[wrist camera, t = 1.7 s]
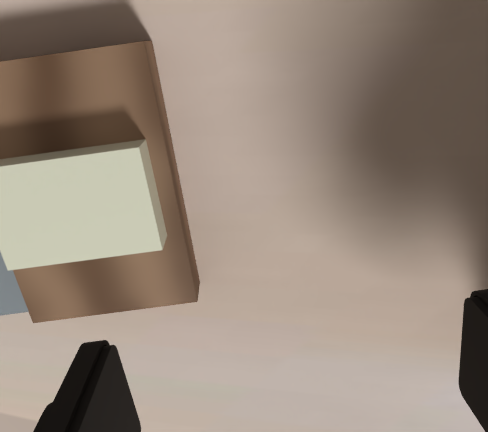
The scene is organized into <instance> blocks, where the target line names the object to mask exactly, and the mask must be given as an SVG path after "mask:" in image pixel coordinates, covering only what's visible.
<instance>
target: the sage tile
mask: <svg viewBox="0 0 488 432" xmlns="http://www.w3.org/2000/svg"><path fill="white" fill-rule="evenodd" d="M166 237H167V232H166V228H165V223H164V219H163V214H162V210H161V205H160V201H159V196H158V192H157V187H156V183H155V178H154V174H153V169H152V165H151V160H150V156H149V151H148V146H147V142H146V139H143V140H136V141H129V142H121V143H114V144H107V145H100V146H92V147H85V148H78V149H71V150H64V151H56V152H49V153H42V154H35V155H27V156H20V157H13V158H6V159H0V252H1V254H2V257H3V260H4V262H5V265H6V267H7V270H8V271H9V270H17V269H24V268H32V267H39V266H47V265H54V264H62V263H69V262H77V261H84V260H92V259H99V258H107V257H114V256H122V255H130V254H137V253H145V252H152V251H160V250H163V247H164V244H165V241H166Z"/></svg>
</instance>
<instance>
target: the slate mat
mask: <svg viewBox="0 0 488 432" xmlns="http://www.w3.org/2000/svg"><path fill="white" fill-rule="evenodd" d="M22 312H29V311H28V308H27V306H26V303H25V301H24V298H23V296H22V293H21V290H20V288H19V285H18V283H17V280H16V277H15V275H14V272H13V270H9V271H8V270H7V267H6V265H5V262H4V260H3V257H2V254H1V252H0V315H7V314H15V313H22Z"/></svg>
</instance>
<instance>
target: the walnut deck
mask: <svg viewBox="0 0 488 432" xmlns="http://www.w3.org/2000/svg"><path fill="white" fill-rule="evenodd" d="M143 139H146V142H147V146H148V151H149V156H150V160H151V165H152V169H153V174H154V178H155V183H156V187H157V192H158V196H159V201H160V205H161V210H162V214H163V219H164V223H165V228H166V232H167V237H166V241H165V244H164V247H163V250H160V251H152V252H145V253H137V254H130V255H122V256H114V257H107V258H99V259H92V260H84V261H77V262H69V263H62V264H54V265H47V266H39V267H32V268H24V269H17V270H13V272H14V275H15V277H16V280H17V283H18V285H19V288H20V290H21V293H22V296H23V298H24V301H25V303H26V306H27V308H28V311H29V314H30V316H31V319H32V321H33V323H38V322H45V321H53V320H61V319H68V318H76V317H84V316H91V315H99V314H107V313H114V312H122V311H130V310H138V309H145V308H153V307H161V306H168V305H176V304H184V303H191V302H197V300H198V292H199V284H200V281H199V275H198V270H197V265H196V260H195V255H194V250H193V245H192V240H191V235H190V230H189V225H188V220H187V215H186V210H185V205H184V200H183V195H182V190H181V185H180V180H179V175H178V170H177V165H176V159H175V154H174V149H173V144H172V139H171V134H170V129H169V124H168V119H167V114H166V109H165V104H164V99H163V94H162V89H161V84H160V79H159V74H158V69H157V64H156V59H155V54H154V49H153V44H152V41H140V42H133V43H126V44H120V45H113V46H106V47H99V48H92V49H85V50H78V51H71V52H64V53H57V54H50V55H43V56H36V57H29V58H22V59H15V60H8V61H1V62H0V159H6V158H13V157H20V156H27V155H35V154H42V153H49V152H56V151H64V150H71V149H78V148H85V147H92V146H100V145H107V144H114V143H121V142H129V141H136V140H143Z"/></svg>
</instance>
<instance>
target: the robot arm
mask: <svg viewBox="0 0 488 432" xmlns="http://www.w3.org/2000/svg"><path fill="white" fill-rule="evenodd" d="M459 388H460V391H461V394H462V396H463V398H464V400H465V401H466V403H467V404H468V406H469V407H470V409H471V410H472V412H473V413H474V415H475V416H476V418H477V419H478V421H479V423H480V424H481V426H482V427H483V429H484V430H485V432H488V289H486V290H478V291H474V292H472V294H471V296H470V298H467V299H465V302H464V312H463V327H462V341H461V356H460V370H459ZM34 432H141V426H140V421H139V418H138V415H137V411H136V408H135V405H134V402H133V399H132V395H131V392H130V389H129V386H128V383H127V379H126V376H125V373H124V370H123V367H122V363H121V360H120V357H119V354H118V350H117V348H116V346H115V345H109V343H108V342H107V341H106V340H102V341H95V342H87V343H83V344H82V345H81V346H80V348H79V350H78V352H77V354H76V356H75V358H74V360H73V362H72V364H71V366H70V368H69V370H68V372H67V374H66V376H65V378H64V380H63V382H62V385H61V387H60V389H59V391H58V393H57V395H56V397H55V399H54V401H53V402H52V403H50V404H49V405H47V407H46V408H45V410H44V411H43V413H42V415H41V417H40V419H39V421H38V423H37V425H36V427H35V429H34Z"/></svg>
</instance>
